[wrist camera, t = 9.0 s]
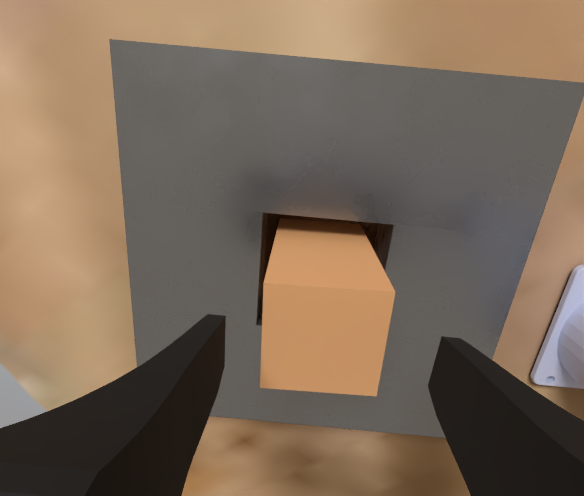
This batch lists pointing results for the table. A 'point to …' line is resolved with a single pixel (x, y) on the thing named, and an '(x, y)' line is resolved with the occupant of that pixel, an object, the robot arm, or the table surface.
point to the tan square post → (324, 310)
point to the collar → (330, 204)
